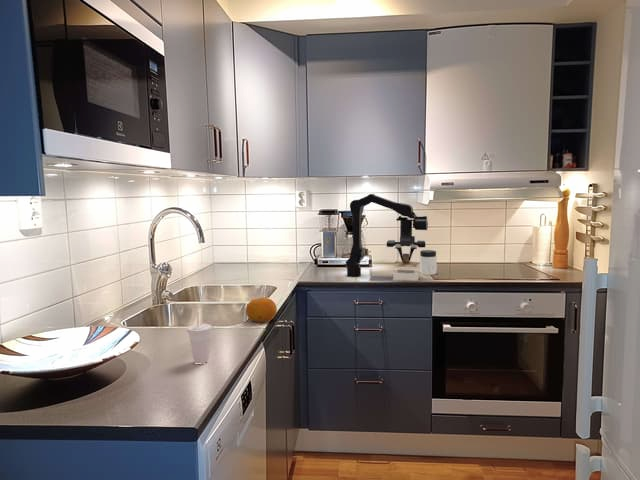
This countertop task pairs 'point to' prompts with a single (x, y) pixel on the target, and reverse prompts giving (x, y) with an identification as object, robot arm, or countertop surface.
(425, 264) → the jar
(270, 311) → the fruit
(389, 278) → the mat
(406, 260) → the lid
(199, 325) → the smoothie
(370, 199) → the robot arm
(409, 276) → the dish
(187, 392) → the countertop surface
